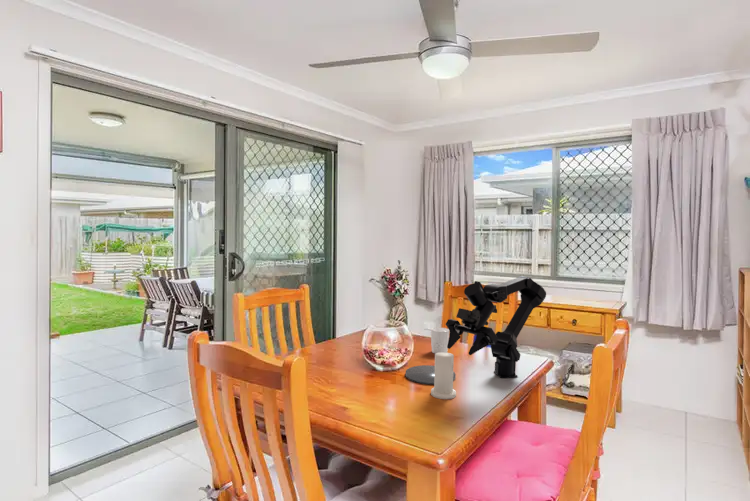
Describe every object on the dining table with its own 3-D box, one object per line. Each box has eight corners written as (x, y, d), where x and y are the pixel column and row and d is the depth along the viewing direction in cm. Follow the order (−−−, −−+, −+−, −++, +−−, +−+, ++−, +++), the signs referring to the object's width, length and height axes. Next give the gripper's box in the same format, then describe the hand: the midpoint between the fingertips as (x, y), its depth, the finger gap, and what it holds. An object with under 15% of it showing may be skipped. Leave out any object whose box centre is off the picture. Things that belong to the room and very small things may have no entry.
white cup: (449, 354, 190) (450, 331, 189) (431, 354, 190) (431, 331, 190) (447, 349, 198) (447, 327, 197) (429, 349, 198) (429, 327, 197)
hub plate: (445, 367, 172) (445, 364, 172) (463, 383, 155) (463, 379, 155) (400, 369, 169) (400, 366, 169) (413, 386, 151) (413, 382, 151)
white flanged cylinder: (450, 389, 149) (451, 351, 148) (459, 398, 141) (460, 357, 140) (427, 390, 147) (428, 351, 146) (435, 399, 139) (436, 358, 139)
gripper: (449, 296, 157) (426, 331, 151) (493, 303, 143) (469, 342, 136) (463, 315, 163) (442, 350, 156) (507, 325, 148) (485, 363, 142)
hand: (458, 351), depth 148 cm, fingers open, 9 cm apart
